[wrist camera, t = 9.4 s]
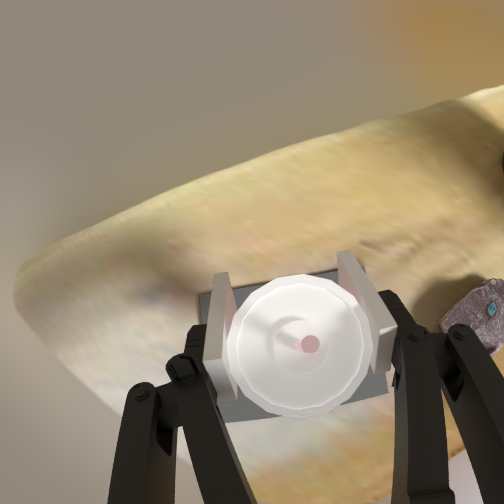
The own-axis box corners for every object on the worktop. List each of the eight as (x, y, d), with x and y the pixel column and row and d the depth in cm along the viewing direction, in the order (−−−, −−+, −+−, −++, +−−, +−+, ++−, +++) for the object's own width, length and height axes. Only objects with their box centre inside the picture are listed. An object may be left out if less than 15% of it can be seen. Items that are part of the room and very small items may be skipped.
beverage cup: (335, 391, 19) (413, 450, 6) (247, 388, 20) (184, 446, 7) (339, 305, 21) (416, 233, 8) (252, 303, 22) (202, 226, 9)
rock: (511, 322, 28) (533, 316, 24) (455, 379, 28) (475, 381, 23) (484, 270, 31) (504, 259, 27) (424, 323, 30) (442, 318, 26)
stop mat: (362, 266, 33) (363, 265, 32) (386, 391, 28) (388, 392, 28) (200, 295, 34) (198, 295, 33) (218, 422, 29) (217, 423, 29)
